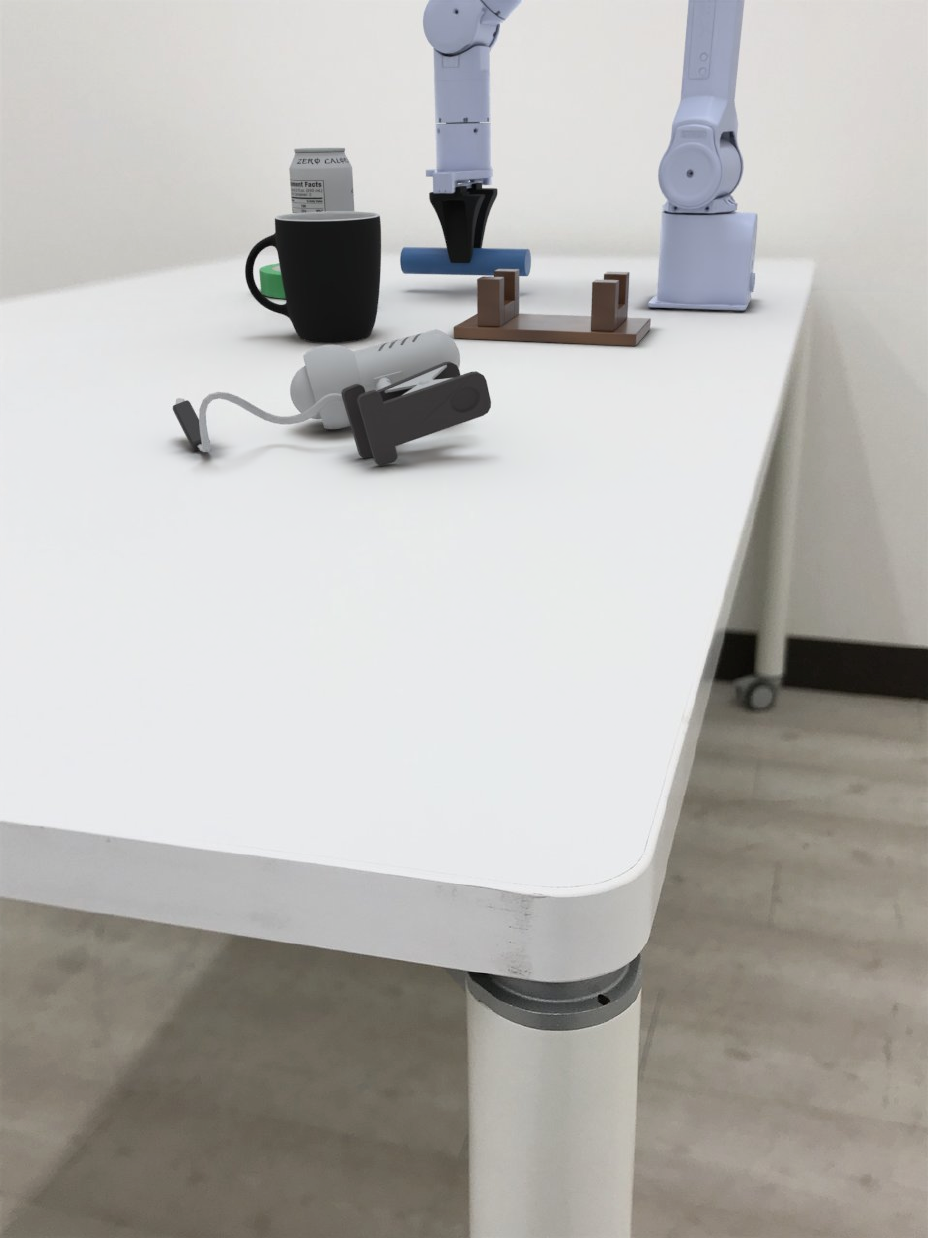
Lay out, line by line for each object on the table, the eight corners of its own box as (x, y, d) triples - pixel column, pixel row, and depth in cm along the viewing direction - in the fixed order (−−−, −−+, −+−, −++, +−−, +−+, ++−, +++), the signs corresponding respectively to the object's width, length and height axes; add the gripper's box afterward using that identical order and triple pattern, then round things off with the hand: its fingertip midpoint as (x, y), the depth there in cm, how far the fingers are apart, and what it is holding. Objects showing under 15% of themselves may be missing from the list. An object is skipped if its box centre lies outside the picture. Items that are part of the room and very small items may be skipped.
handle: (531, 274, 120) (531, 247, 118) (524, 277, 117) (524, 249, 116) (409, 272, 124) (408, 245, 122) (400, 274, 121) (399, 248, 120)
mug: (390, 327, 102) (386, 210, 98) (379, 345, 94) (373, 219, 90) (262, 327, 103) (252, 211, 98) (239, 346, 95) (227, 220, 90)
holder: (650, 329, 99) (653, 271, 97) (635, 346, 92) (639, 284, 90) (479, 322, 104) (479, 267, 102) (453, 338, 97) (452, 278, 95)
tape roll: (355, 298, 118) (354, 272, 117) (252, 299, 118) (250, 274, 117) (365, 284, 128) (364, 260, 127) (270, 285, 128) (268, 261, 127)
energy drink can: (370, 310, 111) (362, 147, 105) (316, 316, 108) (305, 149, 102) (341, 302, 116) (332, 146, 109) (289, 308, 113) (277, 148, 106)
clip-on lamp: (193, 528, 62) (502, 440, 62) (151, 424, 58) (479, 332, 59) (196, 452, 72) (463, 376, 72) (161, 359, 68) (441, 281, 69)
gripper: (447, 122, 122) (450, 252, 127) (402, 124, 109) (407, 268, 115) (509, 121, 120) (509, 253, 125) (470, 123, 107) (472, 269, 113)
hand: (465, 260), depth 120 cm, fingers closed on handle, 3 cm apart
